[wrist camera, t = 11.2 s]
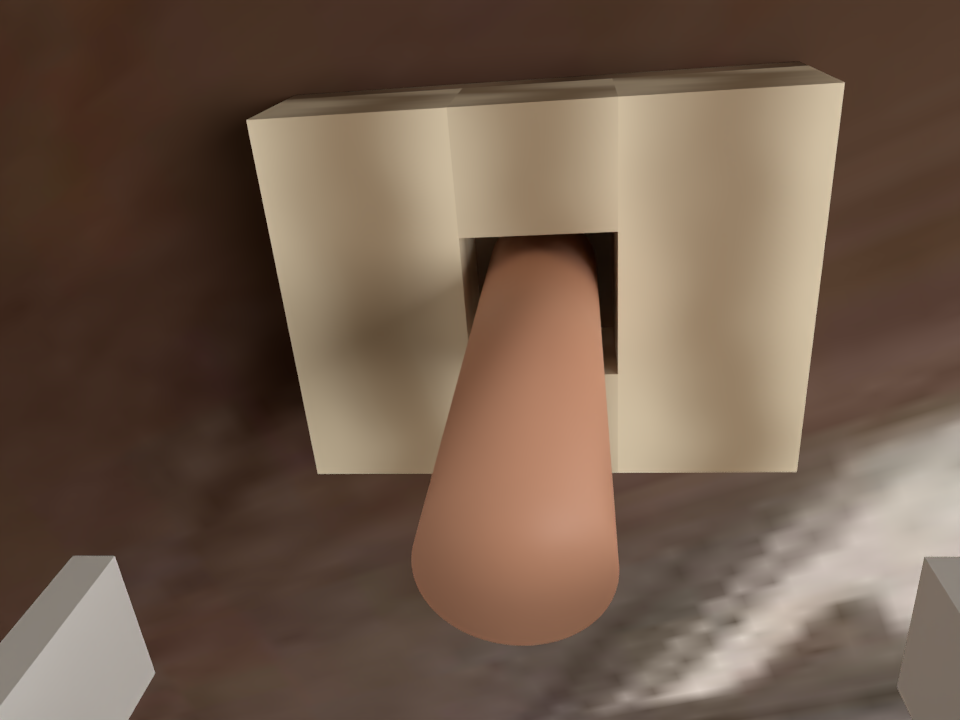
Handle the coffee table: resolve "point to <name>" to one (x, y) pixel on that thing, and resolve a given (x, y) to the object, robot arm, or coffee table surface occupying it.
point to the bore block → (558, 210)
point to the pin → (525, 457)
